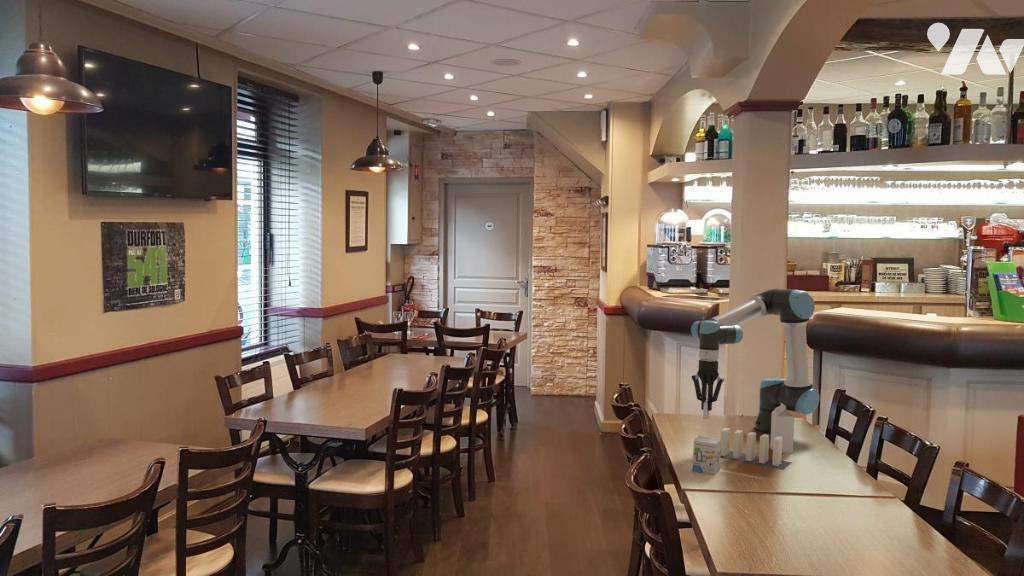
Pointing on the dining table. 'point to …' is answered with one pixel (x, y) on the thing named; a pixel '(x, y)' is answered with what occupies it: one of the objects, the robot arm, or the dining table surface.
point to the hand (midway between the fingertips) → (706, 418)
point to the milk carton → (783, 428)
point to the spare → (725, 441)
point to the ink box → (706, 455)
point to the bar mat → (756, 461)
